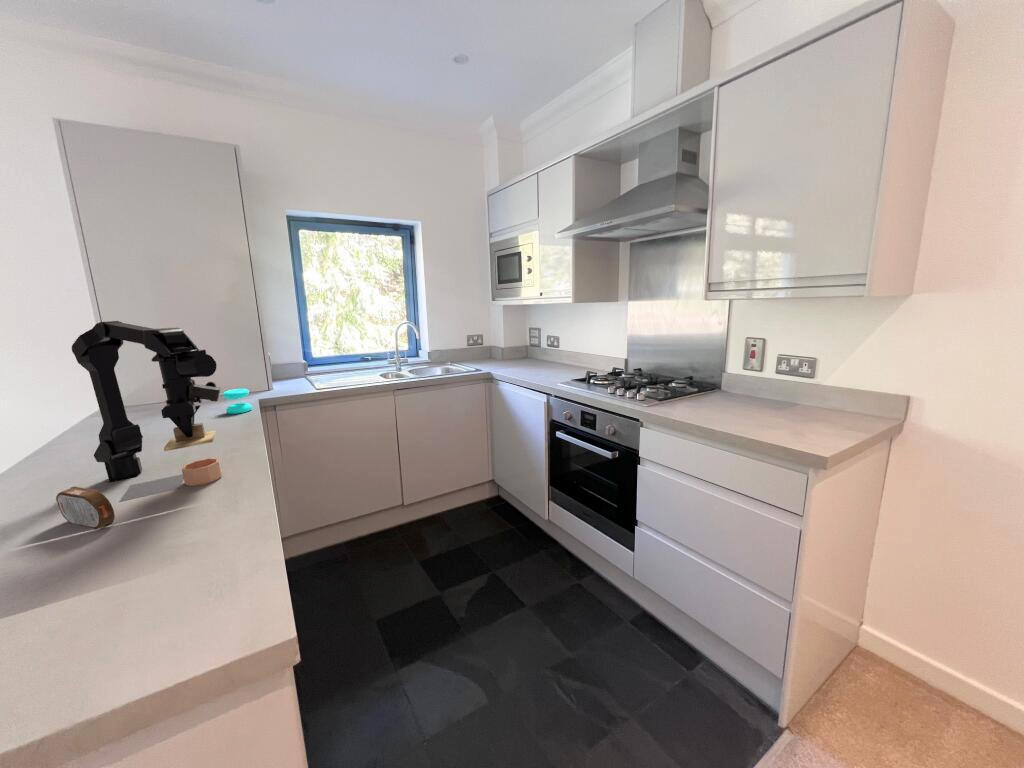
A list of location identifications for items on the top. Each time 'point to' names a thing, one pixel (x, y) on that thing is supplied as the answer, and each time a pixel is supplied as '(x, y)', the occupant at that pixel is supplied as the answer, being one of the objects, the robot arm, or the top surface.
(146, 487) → the mat
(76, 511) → the tin
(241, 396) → the pair of cyan discs
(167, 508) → the top surface
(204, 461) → the bowl
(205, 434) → the lid
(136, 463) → the robot arm
